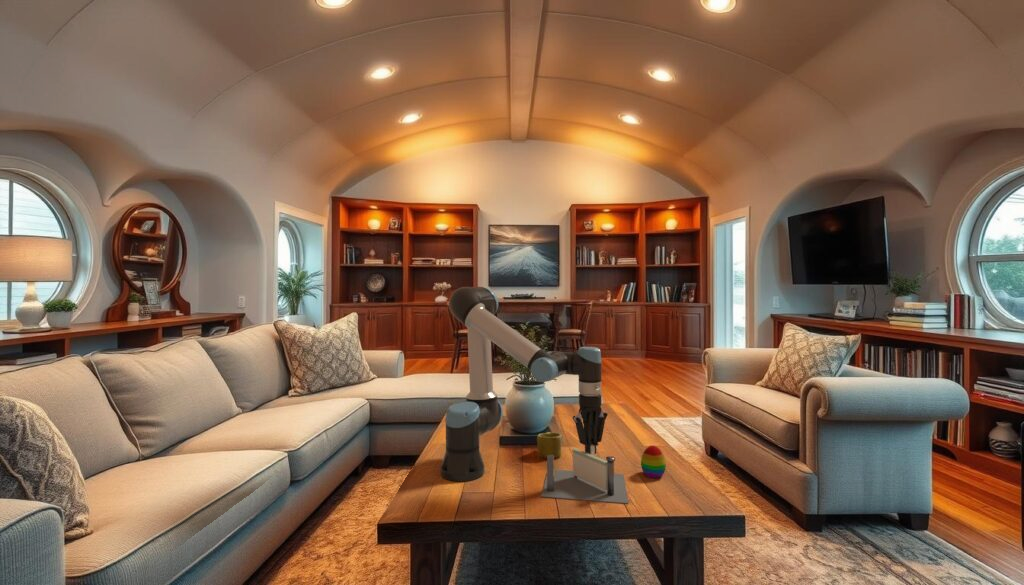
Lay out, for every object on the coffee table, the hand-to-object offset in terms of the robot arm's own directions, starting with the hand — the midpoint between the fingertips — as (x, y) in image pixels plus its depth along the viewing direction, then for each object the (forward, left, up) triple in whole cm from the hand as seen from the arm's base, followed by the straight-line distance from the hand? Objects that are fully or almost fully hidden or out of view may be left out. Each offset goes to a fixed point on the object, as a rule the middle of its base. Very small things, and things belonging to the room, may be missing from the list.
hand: (590, 464), depth 155 cm
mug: (-16, +23, -6) cm, 28 cm away
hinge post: (+6, -10, -5) cm, 13 cm away
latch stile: (-12, -10, -5) cm, 17 cm away
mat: (-2, -4, -5) cm, 7 cm away
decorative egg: (+21, +9, -6) cm, 24 cm away
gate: (0, -4, -5) cm, 6 cm away
